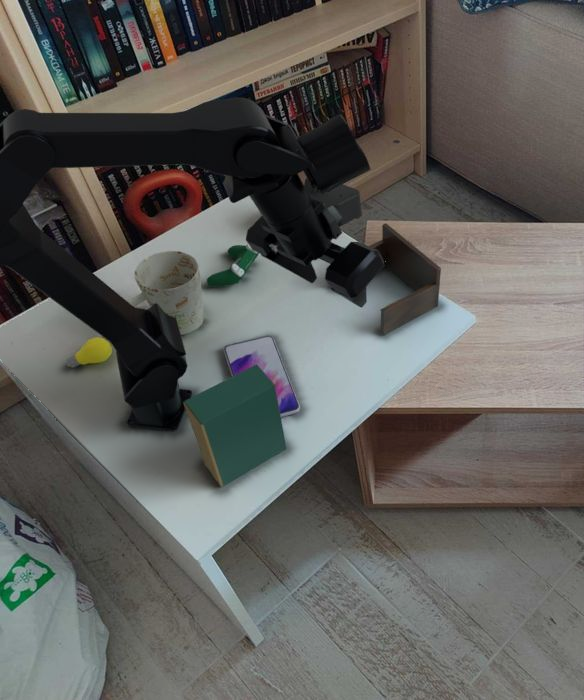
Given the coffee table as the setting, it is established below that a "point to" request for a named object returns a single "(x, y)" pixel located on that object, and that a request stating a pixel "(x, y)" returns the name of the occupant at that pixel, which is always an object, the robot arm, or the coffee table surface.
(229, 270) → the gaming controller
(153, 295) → the mug
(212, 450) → the book
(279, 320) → the coffee table surface
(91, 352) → the light bulb
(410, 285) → the book rack
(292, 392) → the smartphone
